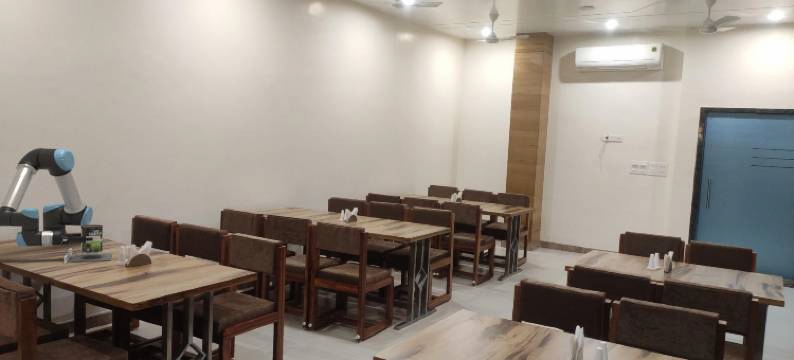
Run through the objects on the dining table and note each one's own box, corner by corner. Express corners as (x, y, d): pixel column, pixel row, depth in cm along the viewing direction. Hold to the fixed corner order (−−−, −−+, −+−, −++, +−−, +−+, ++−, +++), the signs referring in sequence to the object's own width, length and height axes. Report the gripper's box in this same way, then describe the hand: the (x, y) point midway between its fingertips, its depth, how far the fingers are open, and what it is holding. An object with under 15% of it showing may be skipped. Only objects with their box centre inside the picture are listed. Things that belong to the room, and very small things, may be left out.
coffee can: (106, 252, 308) (106, 225, 307) (86, 254, 299) (86, 227, 299) (97, 249, 314) (97, 223, 313) (77, 252, 306) (77, 225, 305)
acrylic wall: (70, 254, 314) (70, 248, 313) (72, 254, 314) (72, 248, 314) (64, 264, 292) (64, 257, 291) (66, 264, 292) (66, 257, 292)
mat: (74, 255, 312) (74, 254, 312) (111, 254, 319) (111, 253, 319) (70, 262, 295) (70, 261, 295) (109, 260, 302) (109, 259, 302)
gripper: (55, 241, 310) (102, 240, 318) (49, 249, 289) (99, 247, 298) (55, 227, 309) (102, 226, 318) (49, 234, 288) (99, 233, 297)
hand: (100, 236), depth 308 cm, fingers closed on coffee can, 10 cm apart
